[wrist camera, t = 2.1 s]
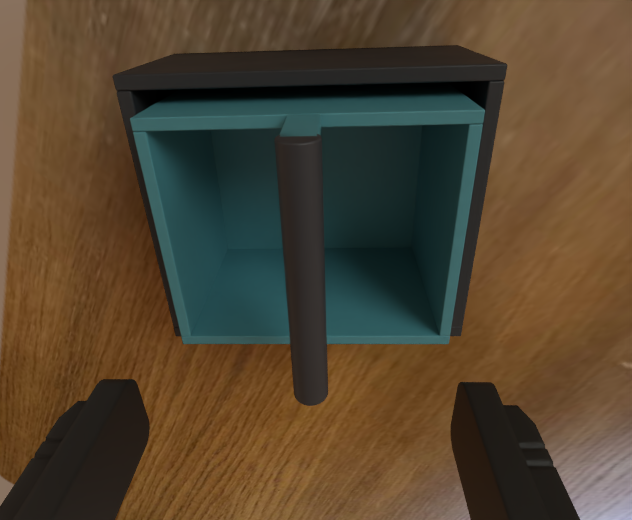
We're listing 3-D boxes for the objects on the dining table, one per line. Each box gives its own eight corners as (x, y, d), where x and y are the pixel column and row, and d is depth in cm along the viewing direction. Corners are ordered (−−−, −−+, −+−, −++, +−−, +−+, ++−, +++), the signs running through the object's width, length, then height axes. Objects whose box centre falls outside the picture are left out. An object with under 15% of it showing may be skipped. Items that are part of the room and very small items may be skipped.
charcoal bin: (210, 263, 30) (175, 336, 24) (173, 53, 24) (111, 74, 17) (433, 261, 30) (460, 336, 23) (458, 45, 23) (508, 63, 16)
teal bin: (223, 252, 29) (156, 405, 18) (196, 79, 24) (77, 147, 13) (417, 250, 28) (469, 407, 18) (435, 72, 23) (525, 138, 12)
